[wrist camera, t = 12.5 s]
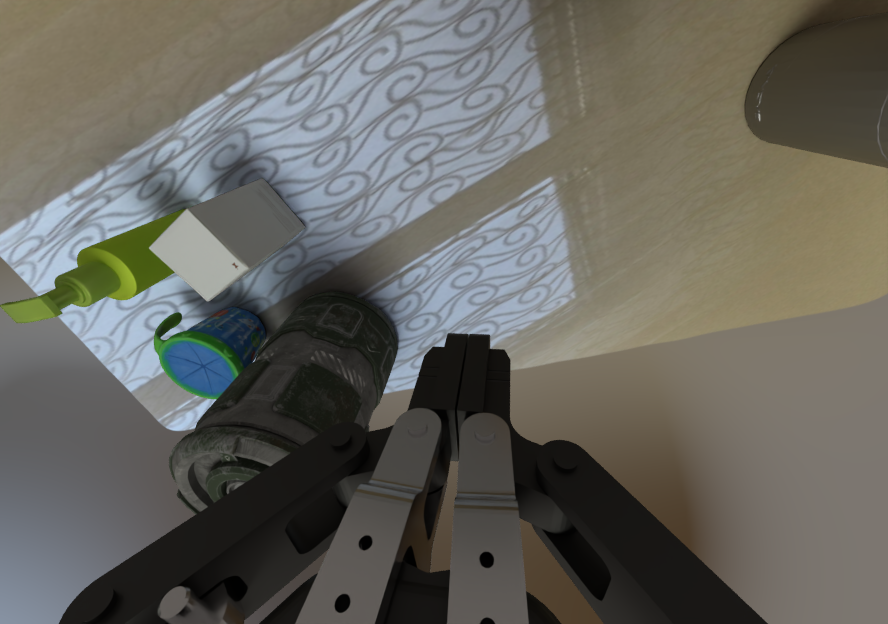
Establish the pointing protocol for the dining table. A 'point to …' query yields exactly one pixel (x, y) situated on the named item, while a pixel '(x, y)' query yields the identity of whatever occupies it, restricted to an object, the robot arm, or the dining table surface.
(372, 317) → the canister
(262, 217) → the supplement box
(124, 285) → the soap dispenser
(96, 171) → the dining table surface
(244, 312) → the snack cup
